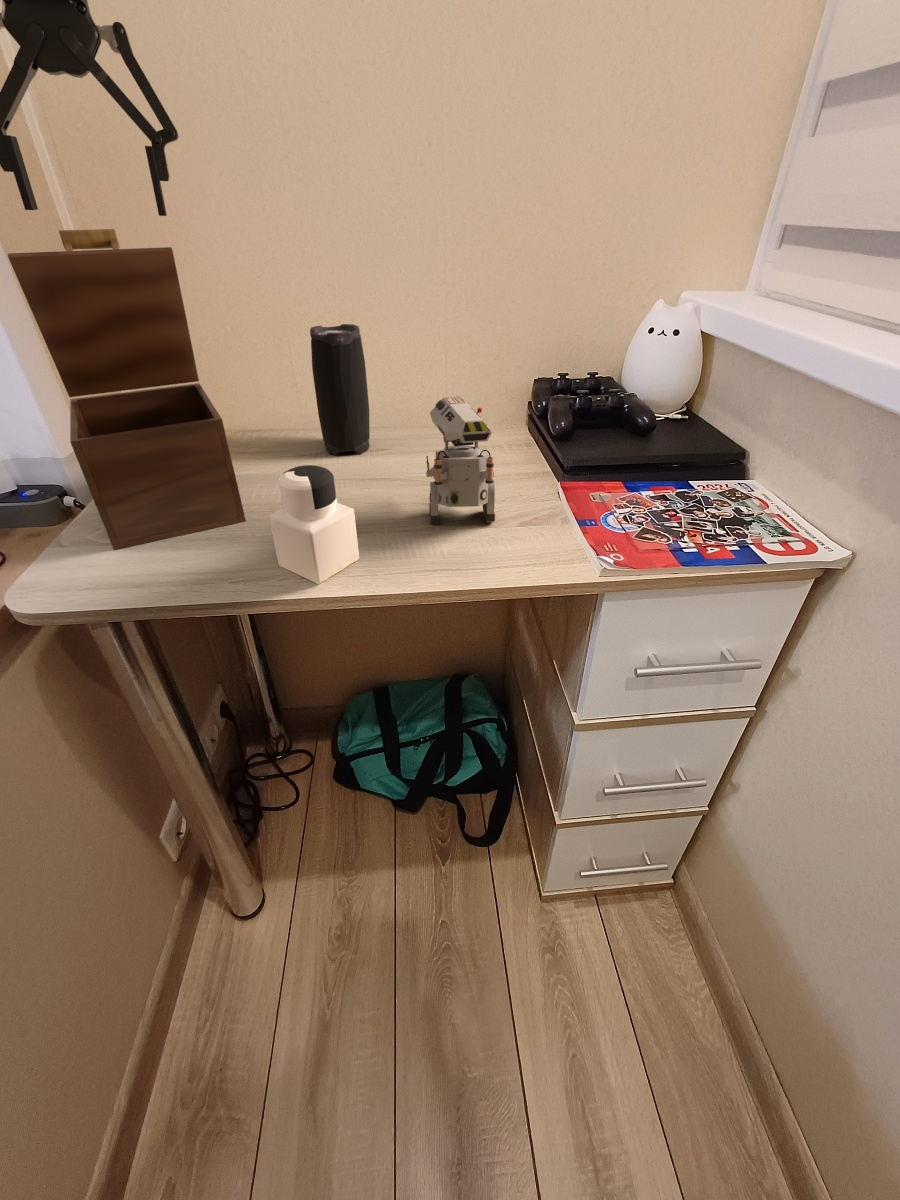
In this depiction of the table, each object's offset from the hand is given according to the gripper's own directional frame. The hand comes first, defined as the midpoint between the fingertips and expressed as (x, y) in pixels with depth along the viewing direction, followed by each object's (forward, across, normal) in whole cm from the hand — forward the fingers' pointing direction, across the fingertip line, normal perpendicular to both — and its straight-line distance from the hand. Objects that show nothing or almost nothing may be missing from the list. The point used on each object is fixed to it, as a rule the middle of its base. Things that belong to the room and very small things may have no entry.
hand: (99, 213), depth 67 cm
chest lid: (+12, +1, +2) cm, 12 cm away
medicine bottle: (+34, -18, +28) cm, 48 cm away
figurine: (+33, -39, +21) cm, 56 cm away
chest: (+35, -1, +6) cm, 36 cm away
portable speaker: (+34, -29, -8) cm, 45 cm away
